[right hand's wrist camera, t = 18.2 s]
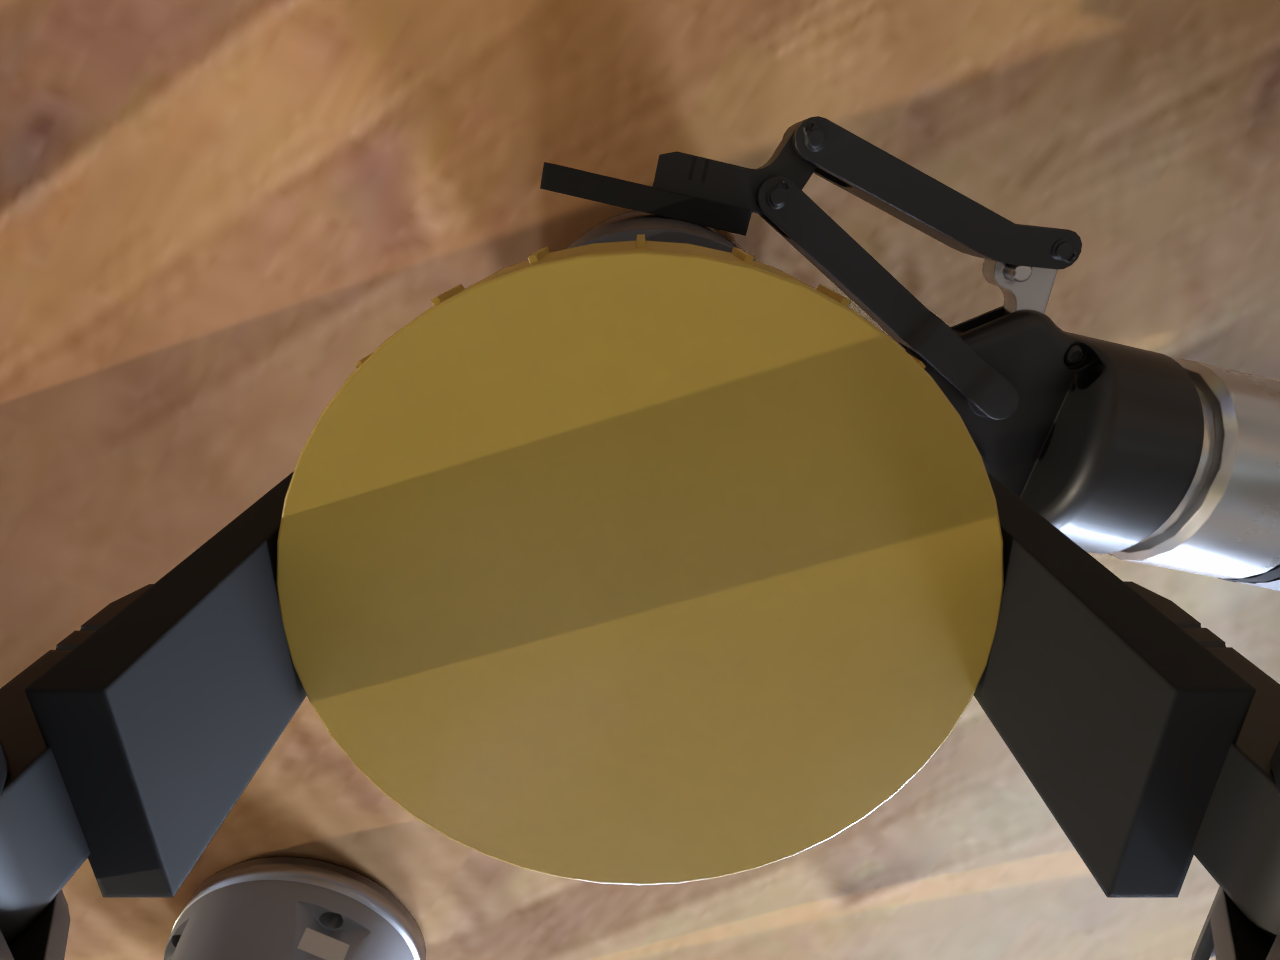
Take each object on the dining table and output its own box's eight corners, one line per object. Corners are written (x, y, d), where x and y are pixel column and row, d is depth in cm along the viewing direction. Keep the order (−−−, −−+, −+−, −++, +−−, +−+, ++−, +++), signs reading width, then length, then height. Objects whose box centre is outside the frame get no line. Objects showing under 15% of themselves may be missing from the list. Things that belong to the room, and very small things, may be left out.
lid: (567, 69, 9) (551, 40, 8) (1086, 510, 12) (1165, 567, 10) (218, 611, 12) (148, 681, 11) (686, 878, 15) (692, 971, 13)
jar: (629, 458, 34) (615, 646, 20) (503, 297, 31) (388, 387, 17) (796, 344, 32) (908, 467, 18) (677, 160, 29) (702, 142, 15)
